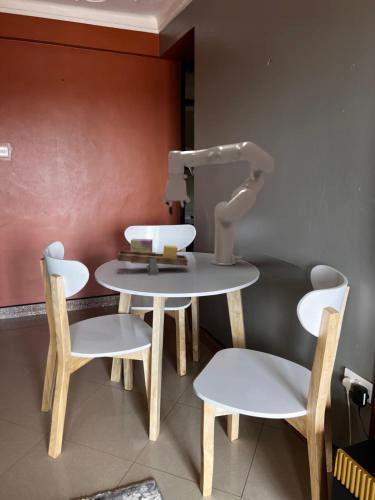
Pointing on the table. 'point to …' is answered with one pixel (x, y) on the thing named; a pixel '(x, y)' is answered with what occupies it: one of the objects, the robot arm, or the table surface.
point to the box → (141, 246)
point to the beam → (145, 257)
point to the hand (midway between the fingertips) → (176, 214)
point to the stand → (152, 266)
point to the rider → (170, 252)
